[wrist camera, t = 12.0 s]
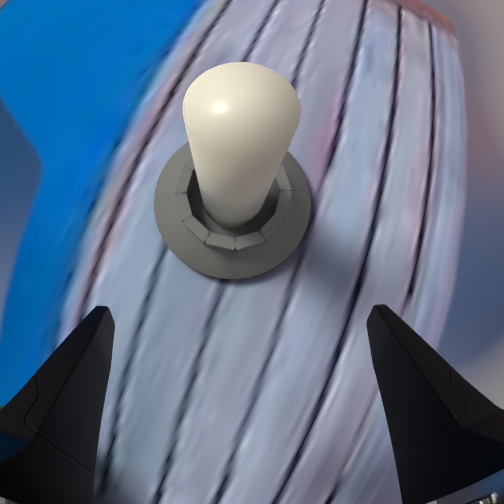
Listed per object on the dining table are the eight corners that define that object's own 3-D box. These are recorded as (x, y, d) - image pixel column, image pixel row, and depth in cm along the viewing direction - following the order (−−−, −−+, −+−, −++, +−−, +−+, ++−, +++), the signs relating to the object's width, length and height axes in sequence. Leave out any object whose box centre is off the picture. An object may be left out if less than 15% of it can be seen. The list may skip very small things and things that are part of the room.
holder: (236, 312, 24) (237, 315, 21) (126, 206, 24) (116, 196, 21) (336, 200, 25) (348, 191, 23) (230, 109, 26) (231, 92, 23)
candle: (217, 238, 23) (209, 175, 10) (194, 186, 24) (167, 83, 11) (271, 214, 24) (321, 133, 11) (246, 164, 24) (268, 51, 11)
